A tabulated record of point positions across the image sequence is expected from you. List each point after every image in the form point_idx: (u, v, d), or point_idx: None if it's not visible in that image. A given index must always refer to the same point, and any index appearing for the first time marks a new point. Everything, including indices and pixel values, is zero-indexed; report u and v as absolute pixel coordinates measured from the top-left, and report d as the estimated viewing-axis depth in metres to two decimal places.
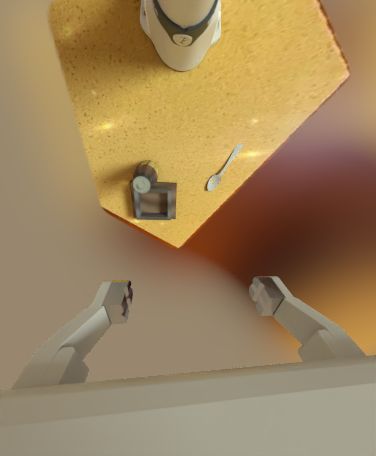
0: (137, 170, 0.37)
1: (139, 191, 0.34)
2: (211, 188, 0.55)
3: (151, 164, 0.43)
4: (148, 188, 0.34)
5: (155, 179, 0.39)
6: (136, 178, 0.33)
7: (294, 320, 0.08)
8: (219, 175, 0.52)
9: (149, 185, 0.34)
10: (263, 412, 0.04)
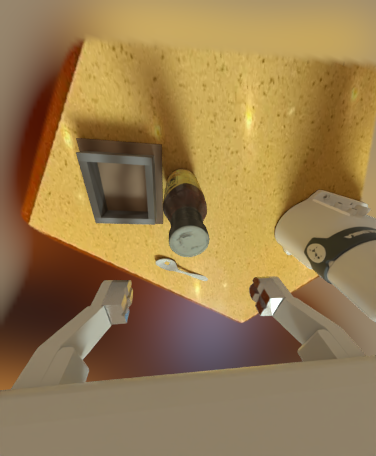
0: (202, 203, 0.19)
1: (174, 237, 0.14)
2: (158, 263, 0.41)
3: None
4: (181, 254, 0.15)
5: None
6: (204, 234, 0.14)
7: (294, 320, 0.08)
8: (176, 269, 0.42)
9: (187, 255, 0.15)
10: (263, 412, 0.04)
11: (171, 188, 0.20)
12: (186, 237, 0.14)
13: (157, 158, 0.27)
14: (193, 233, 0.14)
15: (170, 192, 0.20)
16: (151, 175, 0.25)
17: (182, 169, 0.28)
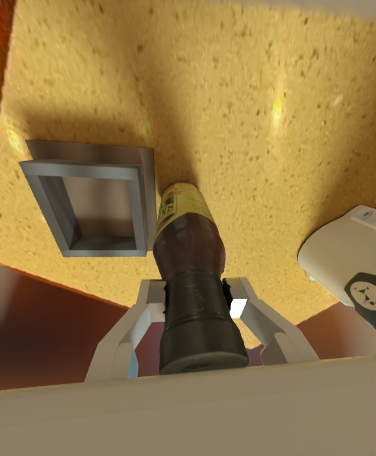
0: (220, 251, 0.11)
1: (171, 370, 0.06)
2: None
3: None
4: None
5: None
6: (241, 360, 0.06)
7: (257, 322, 0.08)
8: None
9: None
10: (263, 412, 0.04)
11: (166, 222, 0.12)
12: (199, 368, 0.06)
13: (147, 167, 0.19)
14: (216, 362, 0.06)
15: (164, 230, 0.12)
16: (138, 193, 0.17)
17: (183, 182, 0.20)
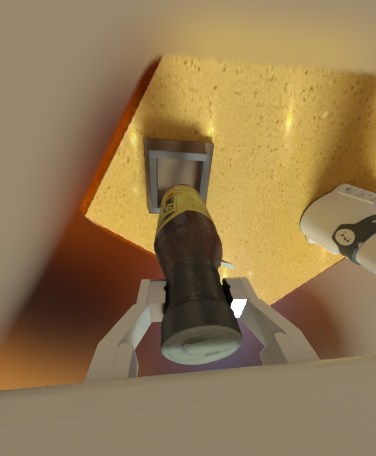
0: (217, 245, 0.12)
1: (171, 345, 0.07)
2: None
3: None
4: (186, 363, 0.08)
5: None
6: (235, 336, 0.07)
7: (257, 322, 0.08)
8: None
9: (198, 362, 0.08)
10: (263, 412, 0.04)
11: (167, 219, 0.13)
12: (197, 343, 0.07)
13: None
14: (212, 336, 0.07)
15: (165, 226, 0.12)
16: (207, 170, 0.29)
17: (182, 185, 0.21)
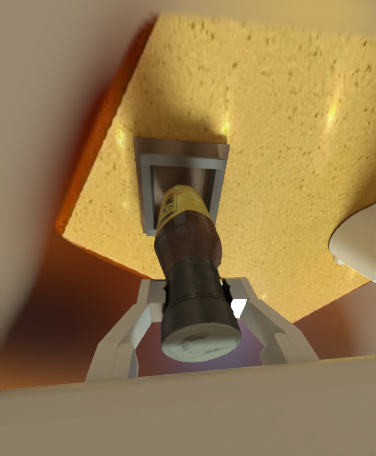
0: (216, 244, 0.12)
1: (171, 342, 0.07)
2: None
3: None
4: (185, 360, 0.08)
5: None
6: (234, 333, 0.07)
7: (257, 322, 0.08)
8: None
9: (197, 360, 0.08)
10: (263, 412, 0.04)
11: (167, 218, 0.13)
12: (196, 340, 0.07)
13: None
14: (211, 334, 0.07)
15: (165, 226, 0.13)
16: (221, 181, 0.21)
17: (182, 185, 0.21)
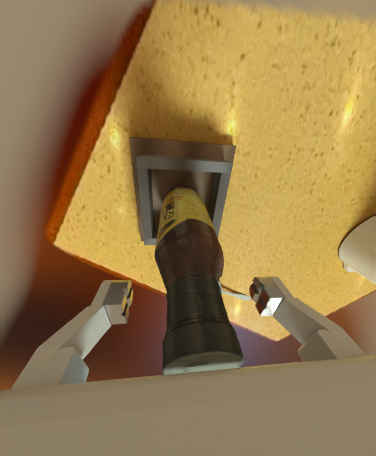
0: (218, 256, 0.12)
1: (173, 368, 0.07)
2: None
3: None
4: None
5: None
6: (236, 359, 0.07)
7: (294, 320, 0.08)
8: None
9: None
10: (263, 412, 0.04)
11: (168, 228, 0.13)
12: (198, 366, 0.07)
13: None
14: (213, 360, 0.07)
15: (166, 236, 0.12)
16: (226, 185, 0.19)
17: (183, 187, 0.20)
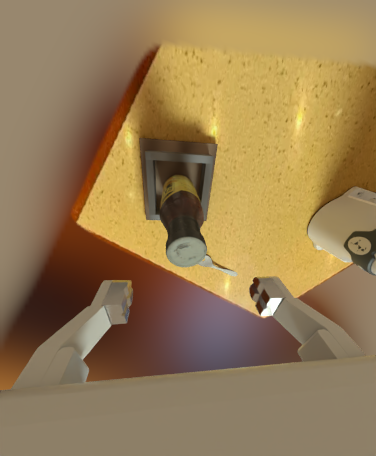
0: (199, 210, 0.19)
1: (171, 249, 0.14)
2: None
3: None
4: (178, 264, 0.15)
5: None
6: (202, 245, 0.14)
7: (294, 320, 0.08)
8: (211, 265, 0.44)
9: (185, 266, 0.15)
10: (263, 412, 0.04)
11: (168, 196, 0.20)
12: (183, 248, 0.14)
13: None
14: (190, 244, 0.14)
15: (167, 200, 0.19)
16: (210, 173, 0.27)
17: (178, 175, 0.28)
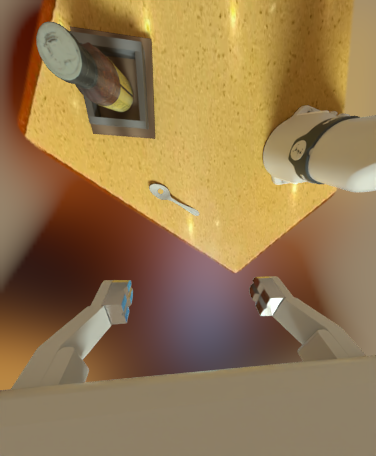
0: (101, 57, 0.19)
1: (40, 41, 0.14)
2: (152, 189, 0.43)
3: (124, 97, 0.26)
4: (57, 72, 0.15)
5: (94, 99, 0.21)
6: (71, 40, 0.14)
7: (294, 320, 0.08)
8: (169, 197, 0.44)
9: (65, 77, 0.16)
10: (263, 412, 0.04)
11: None
12: (52, 42, 0.14)
13: (147, 55, 0.29)
14: (58, 35, 0.14)
15: None
16: (141, 64, 0.27)
17: None
